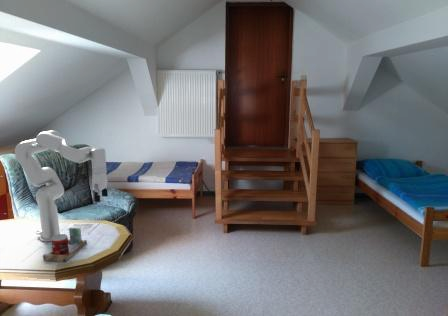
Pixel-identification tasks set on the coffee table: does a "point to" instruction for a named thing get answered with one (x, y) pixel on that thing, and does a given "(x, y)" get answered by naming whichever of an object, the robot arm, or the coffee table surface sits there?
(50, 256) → the wooden rectangular frame
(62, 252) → the canned food
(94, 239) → the coffee table surface
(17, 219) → the coffee table surface
